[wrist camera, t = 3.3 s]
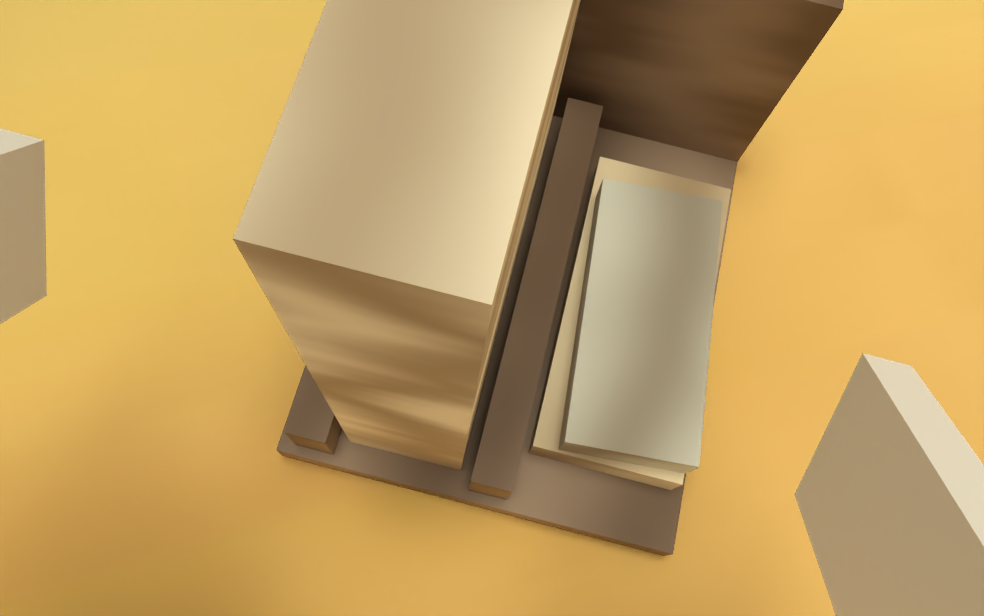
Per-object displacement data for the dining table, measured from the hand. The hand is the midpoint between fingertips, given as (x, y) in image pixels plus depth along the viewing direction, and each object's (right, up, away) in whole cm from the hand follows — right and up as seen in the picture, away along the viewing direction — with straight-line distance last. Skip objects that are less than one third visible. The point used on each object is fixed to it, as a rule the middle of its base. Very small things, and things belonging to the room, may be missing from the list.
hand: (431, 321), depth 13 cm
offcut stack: (+5, 0, +14) cm, 15 cm away
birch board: (0, +1, +14) cm, 14 cm away
